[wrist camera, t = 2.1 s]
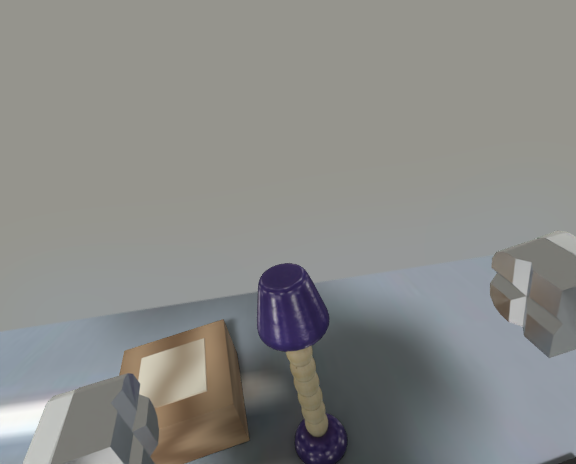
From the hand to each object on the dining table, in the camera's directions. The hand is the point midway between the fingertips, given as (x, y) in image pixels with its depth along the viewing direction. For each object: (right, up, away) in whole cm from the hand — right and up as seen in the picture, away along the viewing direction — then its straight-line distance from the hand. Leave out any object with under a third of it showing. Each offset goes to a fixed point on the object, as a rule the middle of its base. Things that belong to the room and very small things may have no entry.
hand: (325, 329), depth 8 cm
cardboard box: (-10, -15, +27) cm, 32 cm away
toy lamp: (+2, -15, +22) cm, 27 cm away
